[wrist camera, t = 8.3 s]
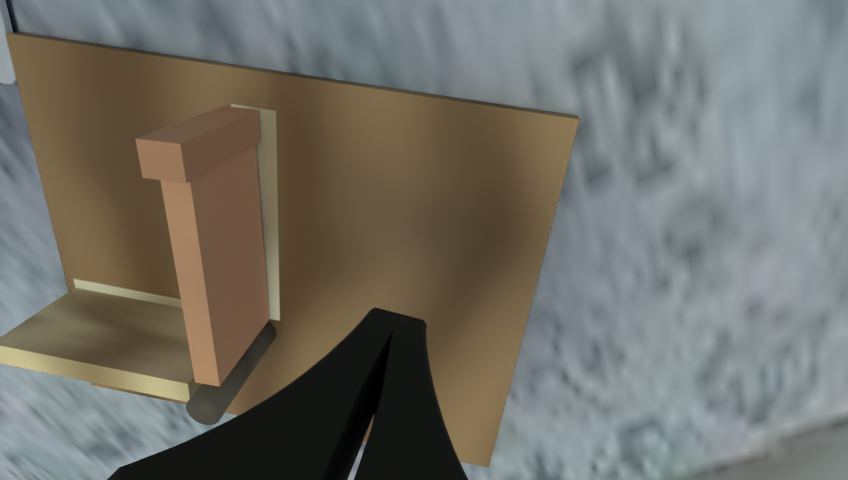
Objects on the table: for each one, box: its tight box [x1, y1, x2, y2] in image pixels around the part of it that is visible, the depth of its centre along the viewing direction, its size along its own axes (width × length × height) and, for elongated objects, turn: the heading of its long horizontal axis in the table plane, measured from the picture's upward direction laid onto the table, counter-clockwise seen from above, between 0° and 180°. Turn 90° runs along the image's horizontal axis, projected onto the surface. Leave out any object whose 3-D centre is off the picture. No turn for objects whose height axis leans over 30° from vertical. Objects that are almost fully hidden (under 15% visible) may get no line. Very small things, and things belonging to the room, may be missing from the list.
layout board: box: [5, 32, 579, 467], centre depth 22 cm, size 22×18×1 cm
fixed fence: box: [0, 288, 276, 425], centre depth 22 cm, size 10×1×5 cm, turn 83°
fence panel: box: [135, 106, 269, 387], centre depth 19 cm, size 10×1×5 cm, turn 176°
